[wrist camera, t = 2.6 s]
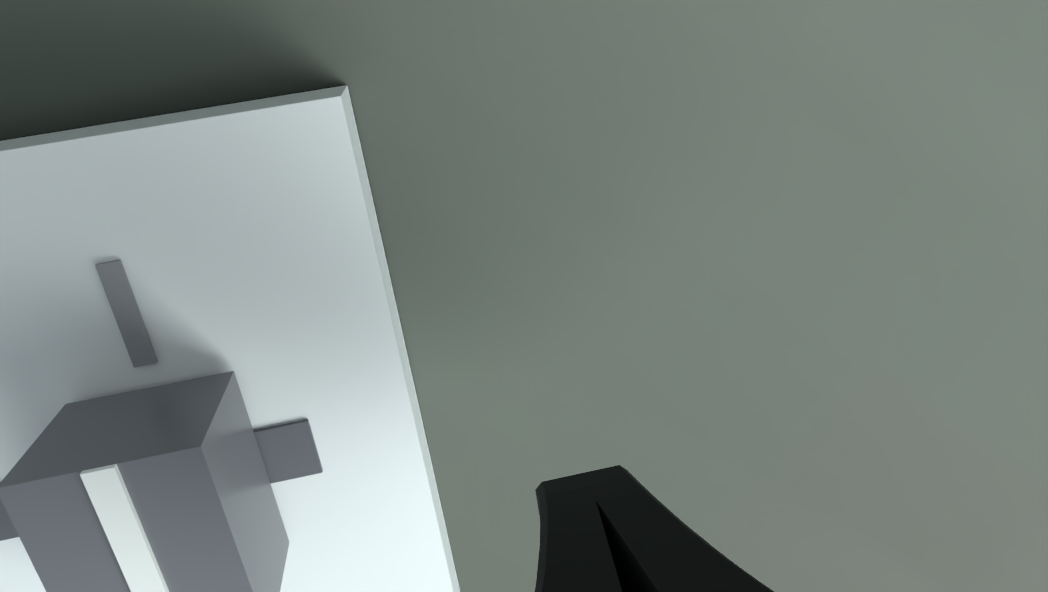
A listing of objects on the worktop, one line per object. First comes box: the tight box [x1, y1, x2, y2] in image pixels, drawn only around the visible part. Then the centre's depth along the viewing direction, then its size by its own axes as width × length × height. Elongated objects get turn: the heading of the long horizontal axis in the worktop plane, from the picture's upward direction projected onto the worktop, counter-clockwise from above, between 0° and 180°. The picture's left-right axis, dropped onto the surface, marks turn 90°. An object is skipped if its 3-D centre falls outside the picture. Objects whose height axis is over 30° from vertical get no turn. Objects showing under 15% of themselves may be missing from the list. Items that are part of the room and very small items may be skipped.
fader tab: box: [0, 371, 289, 592], centre depth 13 cm, size 4×3×3 cm
